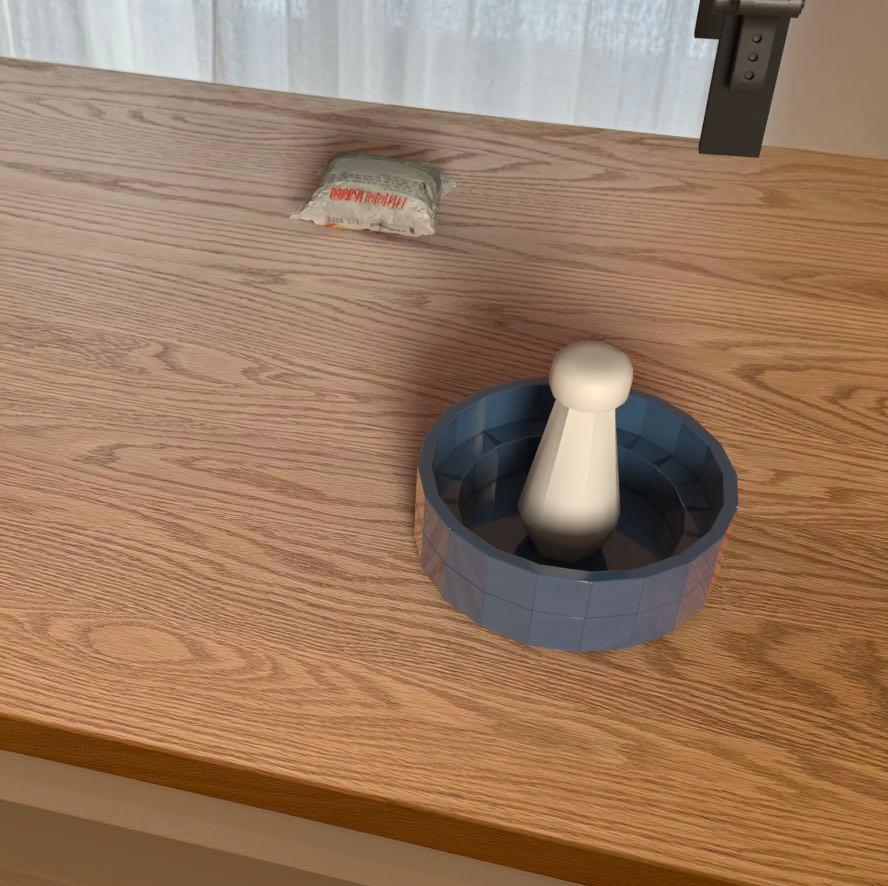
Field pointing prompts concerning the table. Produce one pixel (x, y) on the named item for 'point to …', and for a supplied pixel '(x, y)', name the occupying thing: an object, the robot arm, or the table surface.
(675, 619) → the bowl
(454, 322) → the table surface
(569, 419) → the cream pestle
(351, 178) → the packaged food
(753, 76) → the robot arm
